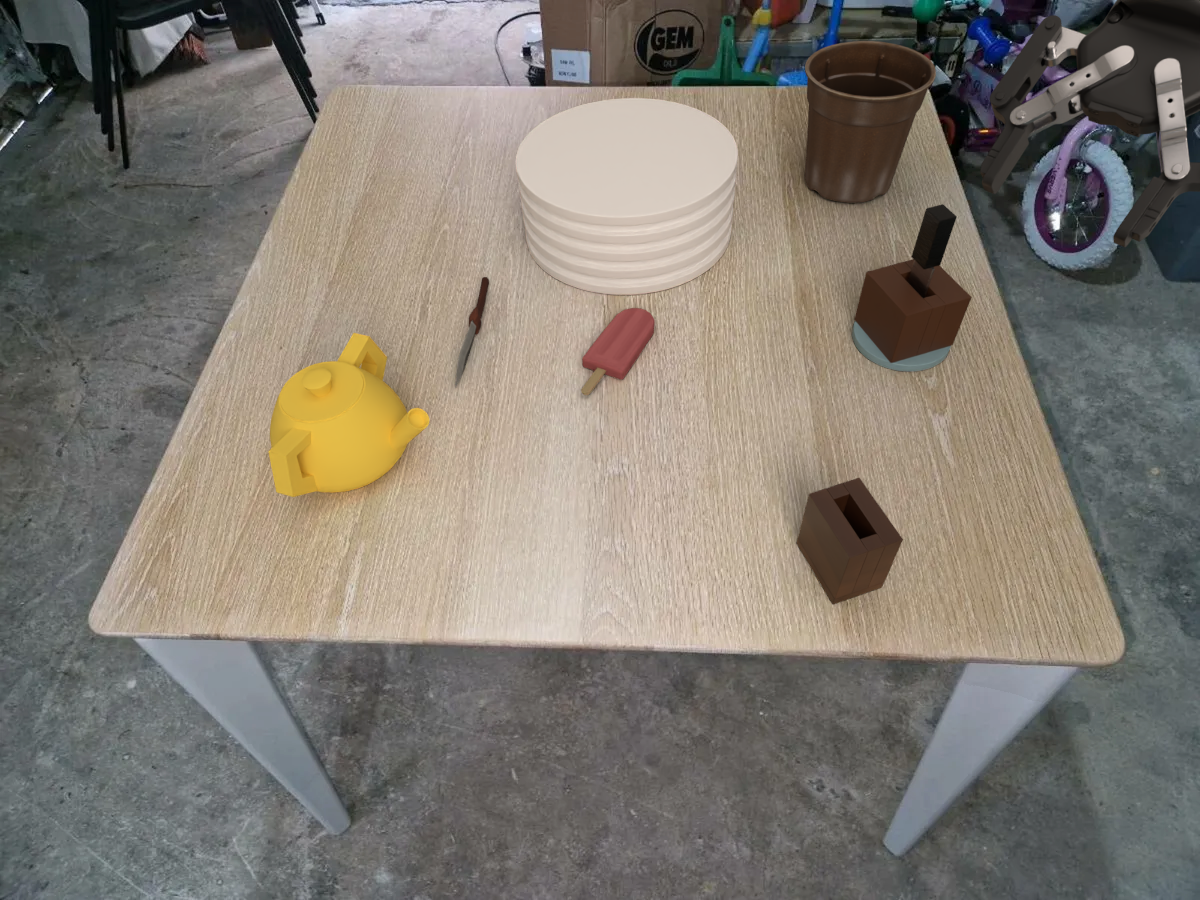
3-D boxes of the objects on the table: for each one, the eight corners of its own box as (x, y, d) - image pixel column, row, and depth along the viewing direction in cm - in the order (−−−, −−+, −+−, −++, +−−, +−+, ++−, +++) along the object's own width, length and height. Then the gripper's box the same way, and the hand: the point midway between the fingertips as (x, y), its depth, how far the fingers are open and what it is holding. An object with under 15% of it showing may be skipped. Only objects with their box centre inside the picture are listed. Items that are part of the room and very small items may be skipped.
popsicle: (562, 381, 89) (623, 302, 97) (563, 391, 90) (623, 311, 98) (604, 396, 87) (663, 314, 95) (605, 406, 88) (663, 324, 96)
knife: (463, 396, 90) (458, 377, 88) (449, 395, 91) (444, 376, 88) (495, 291, 102) (491, 272, 100) (483, 291, 102) (479, 272, 100)
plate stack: (574, 321, 98) (566, 242, 89) (498, 205, 114) (485, 130, 105) (770, 255, 104) (781, 175, 95) (671, 155, 121) (673, 79, 112)
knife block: (842, 527, 77) (859, 477, 70) (881, 587, 72) (903, 539, 66) (795, 543, 76) (808, 493, 70) (832, 604, 71) (849, 557, 65)
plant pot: (783, 151, 120) (798, 40, 107) (892, 148, 119) (921, 36, 106) (795, 214, 109) (814, 99, 97) (915, 211, 108) (949, 96, 96)
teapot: (403, 545, 78) (373, 477, 69) (241, 509, 82) (194, 440, 73) (478, 400, 90) (460, 326, 81) (333, 374, 94) (302, 301, 85)
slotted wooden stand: (915, 298, 97) (932, 244, 91) (969, 356, 90) (993, 302, 84) (834, 321, 95) (847, 266, 89) (884, 382, 89) (901, 328, 82)
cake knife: (903, 321, 93) (941, 202, 81) (917, 337, 91) (959, 218, 79) (888, 325, 93) (924, 206, 81) (902, 342, 91) (941, 222, 79)
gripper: (1099, -109, 46) (937, 152, 50) (1387, -55, 39) (1172, 244, 43) (1102, -36, 52) (958, 192, 57) (1350, 23, 45) (1165, 277, 50)
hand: (1051, 214), depth 50 cm, fingers open, 8 cm apart
